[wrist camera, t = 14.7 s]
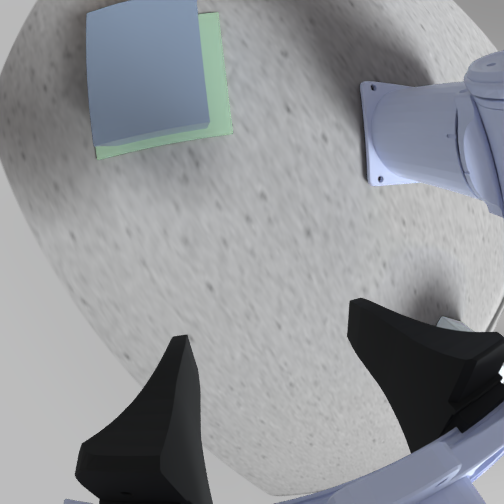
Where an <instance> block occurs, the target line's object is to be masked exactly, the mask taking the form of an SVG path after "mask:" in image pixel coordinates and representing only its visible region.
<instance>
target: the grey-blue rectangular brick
mask: <svg viewBox="0 0 504 504" xmlns="http://www.w3.org/2000/svg"><path fill="white" fill-rule="evenodd" d="M86 65H87V85H88V99H89V110H90V120H91V128H92V136H93V144H94V146H120V145H124V144H128V143H132V142H137V141H141V140H146V139H150V138H155V137H160V136H165V135H171V134H176V133H182V132H187V131H194V130H200V129H206V128H207V127H208V125H209V123H210V117H209V109H208V101H207V93H206V85H205V76H204V67H203V58H202V49H201V40H200V30H199V20H198V10H197V0H130V1H126V2H122V3H118V4H115V5H111V6H108V7H104V8H101V9H98V10H95V11H92V12H89V13H87V18H86Z"/></svg>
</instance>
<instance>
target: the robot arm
mask: <svg viewBox="0 0 504 504" xmlns="http://www.w3.org/2000/svg"><path fill="white" fill-rule="evenodd" d="M371 85H372V86H373V88H374V90H372V89H371ZM360 92H361V100H362V109H363V119H364V130H365V142H366V158H367V180H368V183H369V184H370V185H372V186H383V185H394V184H407V183H420V182H421V183H425V184H429V185H432V186H436V187H440V188H443V189H447V190H450V191H454V192H457V193H460V194H464V195H467V196H470V197H473V198H476V199H479V200H483V201H484V202H485V203H486V204H487V206H488V209H489V212H490V213H492V214H495V215H498V216H500V217H503V218H504V50H503V51H499V52H495V53H492V54H489V55H486V56H483V57H481V58H479V59H477V60H475V61H474V62H472V63H471V64H470V66H469V68H468V71H467V73H466V74H465V76H464V82H452V83H443V84H434V85H426V86H419V87H410V86H404V85H397V84H390V83H382V82H373V81H364V82H362V83H361V84H360ZM379 176H380V178H381V179H380V181H378V177H379ZM347 337H348V339H349V341H350V343H351V345H352V347H353V349H354V351H355V352H356V354H357V356H358V357H359V358H360V360H361V361H362V363H363V364H364V365H365V367H366V368H367V369H368V371H369V372H370V373H371V375H372V376H373V378H374V379H375V380H376V382H377V383H378V384H379V386H380V387H381V389H382V390H383V392H384V394H385V396H386V397H387V399H388V401H389V403H390V405H391V407H392V409H393V411H394V413H395V415H396V417H397V419H398V421H399V423H400V426H401V428H402V431H403V433H404V435H405V438H406V440H407V443H408V446H409V449H410V452H411V454H410V455H408V456H406V457H404V458H402V459H400V460H398V461H396V462H394V463H392V464H390V465H387V466H385V467H383V468H381V469H379V470H376V471H374V472H372V473H369V474H367V475H365V476H362V477H360V478H357V479H355V480H352V481H349V482H347V483H344V484H341V485H338V486H335V487H332V488H329V489H326V490H323V491H320V492H317V493H314V494H311V495H307V496H303V497H299V498H296V499H292V500H288V501H283V502H279V503H275V504H486V503H485V502H484V500H483V498H482V497H481V496H480V494H479V493H478V491H477V490H476V488H475V487H474V485H473V484H472V482H474V481H475V480H476V479H477V478H478V477H479V476H481V475H482V474H483V473H484V472H485V471H487V470H488V469H489V468H490V467H491V466H492V465H493V464H494V463H495V462H497V461H498V460H499V459H500V458H501V457H502V456H503V455H504V384H503V383H501V381H502V379H503V377H502V376H501V375H500V374H499V371H500V369H501V367H502V365H503V363H504V337H503V336H502V335H501V334H499V333H498V332H467V331H458V330H452V329H446V328H441V327H437V326H433V325H430V324H426V323H423V322H420V321H417V320H414V319H411V318H409V317H406V316H403V315H401V314H399V313H396V312H394V311H392V310H389V309H387V308H385V307H383V306H380V305H378V304H376V303H374V302H371V301H369V300H366V299H364V298H358V299H354V300H351V301H350V303H349V319H348V332H347ZM75 476H76V479H77V480H78V481H79V482H80V483H81V484H82V485H83V486H84V487H85V488H86V489H88V490H89V491H90V492H91V493H93V494H94V495H95V496H96V497H98V498H99V499H100V501H99V504H213V502H212V498H211V493H210V489H209V484H208V480H207V473H206V468H205V462H204V456H203V450H202V442H201V417H200V382H199V374H198V368H197V365H196V362H195V359H194V356H193V352H192V349H191V346H190V342H189V339H188V335H181V336H174V337H173V338H172V339H171V341H170V343H169V345H168V347H167V349H166V351H165V353H164V355H163V357H162V359H161V361H160V362H159V364H158V366H157V368H156V369H155V371H154V373H153V374H152V376H151V377H150V379H149V380H148V382H147V384H146V385H145V386H144V388H143V389H142V391H141V392H140V393H139V394H138V396H137V397H136V398H135V399H134V401H133V402H132V403H131V404H130V405H129V406H128V407H127V408H126V409H125V410H124V411H123V412H122V413H121V414H120V415H119V416H118V417H117V418H116V419H115V420H114V421H113V422H111V423H110V424H109V425H108V426H106V427H105V428H104V429H103V430H101V431H100V432H99V433H97V434H96V435H94V436H93V437H91V438H90V439H88V440H87V441H85V442H84V443H82V445H81V448H80V451H79V455H78V461H77V466H76V471H75ZM64 504H92V503H87V502H81V501H75V500H70V499H65V500H64Z"/></svg>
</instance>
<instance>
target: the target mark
mask: <svg viewBox="0 0 504 504" xmlns="http://www.w3.org/2000/svg"><path fill="white" fill-rule="evenodd" d="M198 20H199V30H200V40H201V49H202V58H203V67H204V76H205V85H206V93H207V101H208V109H209V117H210V123H209V125H208V127H207V128H206V129H200V130H194V131H187V132H182V133H176V134H171V135H165V136H160V137H155V138H150V139H146V140H141V141H137V142H132V143H128V144H124V145H120V146H95V148H96V155H97V160H101V159H105V158H109V157H112V156H116V155H121V154H125V153H129V152H133V151H138V150H142V149H147V148H152V147H156V146H161V145H167V144H172V143H177V142H183V141H189V140H195V139H201V138H208V137H214V136H222V135H229V134H233V130H232V121H231V113H230V105H229V97H228V89H227V81H226V73H225V64H224V56H223V48H222V40H221V31H220V23H219V14H218V12H216V13H205V14H198Z"/></svg>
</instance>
